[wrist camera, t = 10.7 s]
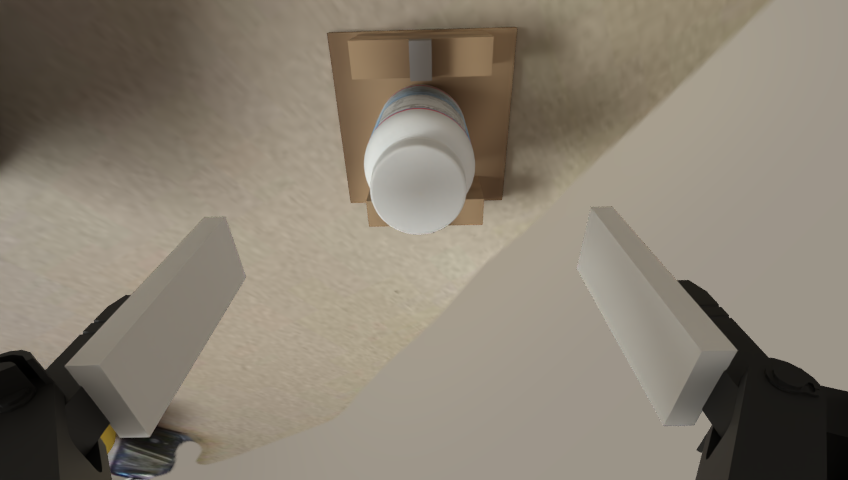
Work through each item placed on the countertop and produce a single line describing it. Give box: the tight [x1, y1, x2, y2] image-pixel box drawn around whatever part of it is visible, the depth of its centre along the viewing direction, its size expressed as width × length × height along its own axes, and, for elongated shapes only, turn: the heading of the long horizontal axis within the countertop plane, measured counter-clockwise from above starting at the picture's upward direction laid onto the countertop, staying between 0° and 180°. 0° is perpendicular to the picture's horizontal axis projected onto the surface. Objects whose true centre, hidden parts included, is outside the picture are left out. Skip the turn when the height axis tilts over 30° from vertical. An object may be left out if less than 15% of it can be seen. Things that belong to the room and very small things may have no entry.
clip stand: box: [327, 27, 517, 233], centre depth 26 cm, size 12×12×6 cm
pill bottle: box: [364, 84, 475, 235], centre depth 23 cm, size 6×6×11 cm
